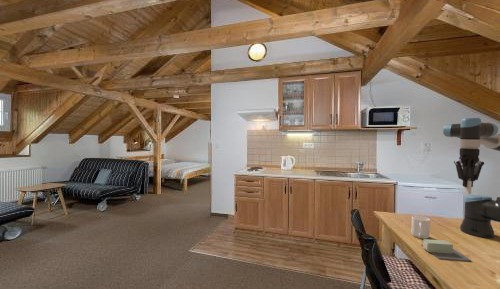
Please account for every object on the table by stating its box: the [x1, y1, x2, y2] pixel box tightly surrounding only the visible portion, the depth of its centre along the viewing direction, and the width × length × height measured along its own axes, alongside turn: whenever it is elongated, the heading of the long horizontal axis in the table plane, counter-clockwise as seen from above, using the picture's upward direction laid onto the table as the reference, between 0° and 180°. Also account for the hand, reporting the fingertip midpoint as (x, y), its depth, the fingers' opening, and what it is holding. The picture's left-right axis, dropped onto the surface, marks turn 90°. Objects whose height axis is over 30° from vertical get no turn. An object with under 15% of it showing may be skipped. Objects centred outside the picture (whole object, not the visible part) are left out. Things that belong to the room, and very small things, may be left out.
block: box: [422, 238, 454, 254], centre depth 118 cm, size 4×4×11 cm
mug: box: [410, 215, 431, 240], centre depth 136 cm, size 9×12×11 cm
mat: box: [420, 244, 472, 262], centre depth 117 cm, size 14×14×1 cm
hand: (467, 193), depth 121 cm, fingers closed
